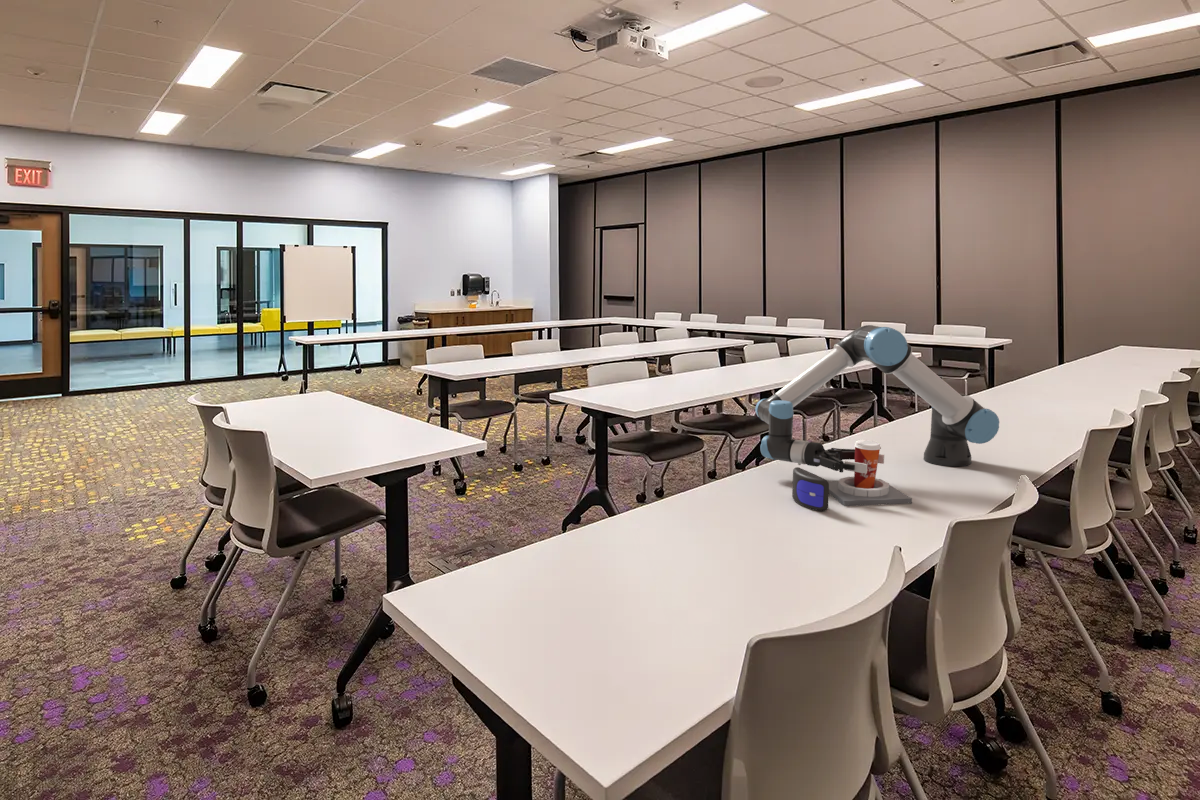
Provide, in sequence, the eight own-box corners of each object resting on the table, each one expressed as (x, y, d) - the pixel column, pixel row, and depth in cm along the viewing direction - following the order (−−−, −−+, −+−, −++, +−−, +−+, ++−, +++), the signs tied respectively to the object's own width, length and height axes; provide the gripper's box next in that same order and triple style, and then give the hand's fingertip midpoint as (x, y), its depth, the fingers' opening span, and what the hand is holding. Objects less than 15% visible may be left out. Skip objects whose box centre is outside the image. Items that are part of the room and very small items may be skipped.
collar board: (880, 483, 221) (880, 472, 220) (911, 503, 201) (912, 491, 201) (818, 485, 220) (818, 475, 219) (844, 506, 200) (844, 494, 200)
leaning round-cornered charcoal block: (783, 497, 209) (784, 467, 208) (797, 495, 211) (798, 465, 209) (815, 514, 194) (816, 481, 192) (829, 512, 195) (830, 480, 194)
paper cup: (865, 492, 207) (869, 446, 205) (845, 485, 214) (848, 441, 211) (883, 488, 211) (887, 443, 208) (862, 481, 218) (866, 438, 215)
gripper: (824, 456, 230) (889, 467, 216) (789, 473, 212) (858, 485, 198) (825, 434, 229) (891, 443, 215) (790, 449, 211) (859, 460, 197)
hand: (875, 464), depth 207 cm, fingers open, 13 cm apart
